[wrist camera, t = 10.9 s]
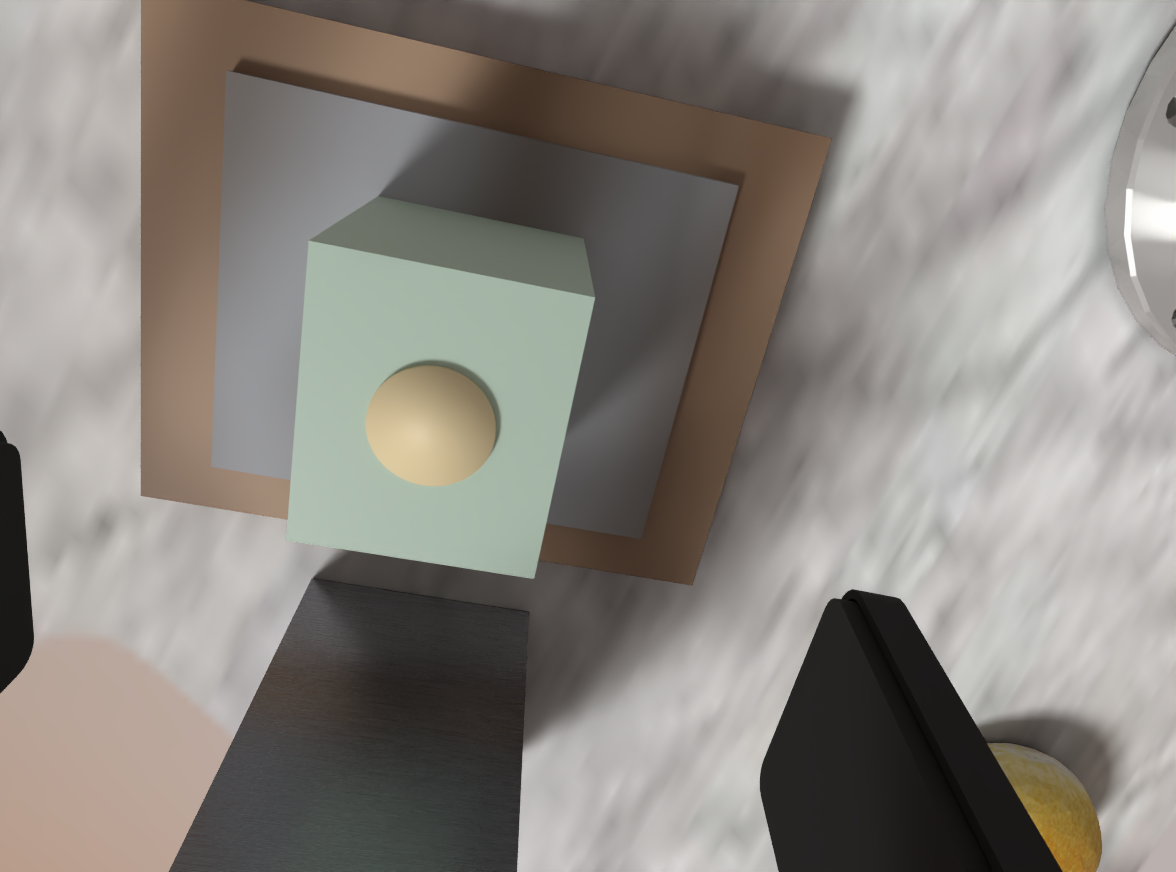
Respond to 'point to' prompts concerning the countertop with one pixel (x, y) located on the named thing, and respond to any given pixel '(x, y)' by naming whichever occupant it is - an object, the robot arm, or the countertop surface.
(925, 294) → the countertop surface
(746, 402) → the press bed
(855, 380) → the countertop surface
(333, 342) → the block
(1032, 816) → the bread roll
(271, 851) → the column
